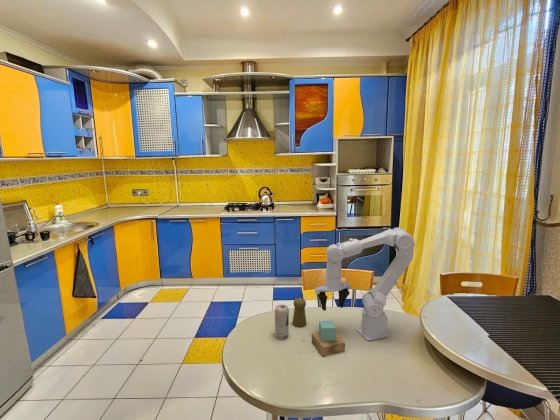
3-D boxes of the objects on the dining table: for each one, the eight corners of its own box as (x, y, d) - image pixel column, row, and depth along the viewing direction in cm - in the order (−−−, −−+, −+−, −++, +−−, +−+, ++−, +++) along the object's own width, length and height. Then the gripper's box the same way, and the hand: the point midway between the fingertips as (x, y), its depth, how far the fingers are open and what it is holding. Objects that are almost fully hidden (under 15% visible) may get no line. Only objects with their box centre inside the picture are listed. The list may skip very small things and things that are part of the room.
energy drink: (290, 333, 121) (290, 305, 119) (286, 341, 116) (286, 312, 114) (277, 331, 123) (277, 303, 121) (272, 338, 118) (272, 309, 116)
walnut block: (332, 338, 118) (332, 329, 118) (344, 352, 110) (345, 342, 109) (311, 343, 115) (311, 333, 115) (322, 357, 107) (322, 347, 106)
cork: (305, 328, 125) (306, 303, 123) (291, 326, 126) (291, 302, 124) (307, 320, 131) (307, 296, 129) (293, 319, 132) (293, 295, 130)
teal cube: (332, 333, 115) (332, 320, 114) (335, 341, 110) (336, 327, 109) (318, 333, 115) (319, 320, 114) (321, 341, 110) (321, 328, 109)
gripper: (344, 269, 124) (343, 300, 126) (312, 274, 119) (311, 306, 122) (354, 276, 117) (352, 308, 120) (320, 281, 113) (319, 314, 115)
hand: (332, 308), depth 120 cm, fingers open, 7 cm apart
